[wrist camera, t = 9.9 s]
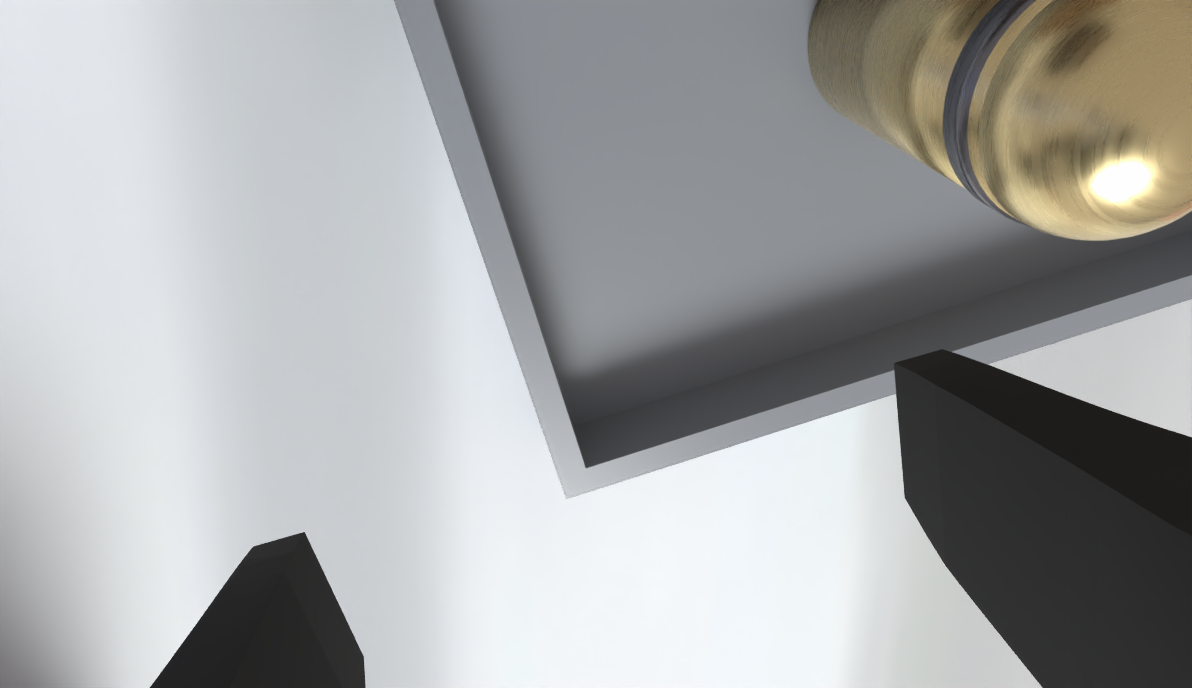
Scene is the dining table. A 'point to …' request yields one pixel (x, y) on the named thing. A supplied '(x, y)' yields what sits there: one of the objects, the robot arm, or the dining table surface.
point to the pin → (1025, 101)
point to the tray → (725, 229)
